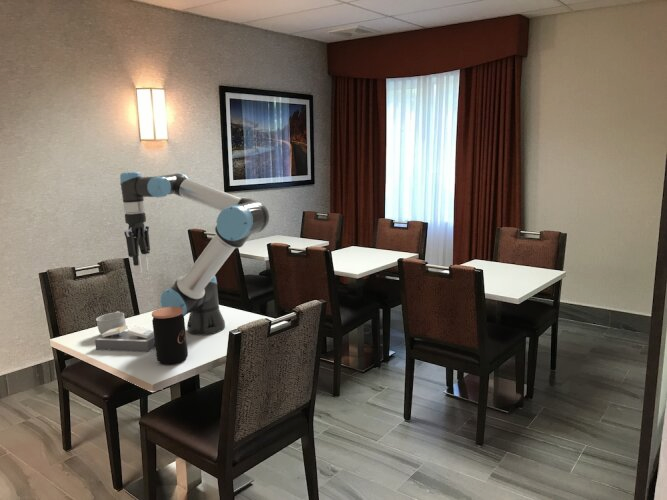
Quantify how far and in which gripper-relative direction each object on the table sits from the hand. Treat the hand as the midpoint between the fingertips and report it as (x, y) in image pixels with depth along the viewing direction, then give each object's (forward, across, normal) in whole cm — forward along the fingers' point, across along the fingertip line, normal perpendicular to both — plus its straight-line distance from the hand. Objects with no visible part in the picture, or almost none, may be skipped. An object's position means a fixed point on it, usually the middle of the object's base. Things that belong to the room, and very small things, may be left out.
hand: (141, 271), depth 213 cm
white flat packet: (+21, +11, +4) cm, 24 cm away
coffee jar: (+27, +22, +22) cm, 41 cm away
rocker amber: (+21, +11, -8) cm, 25 cm away
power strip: (+27, +11, 0) cm, 29 cm away
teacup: (+27, -2, -17) cm, 32 cm away
